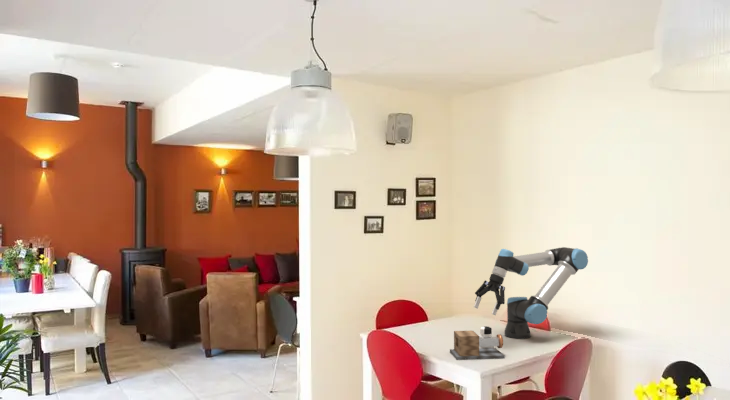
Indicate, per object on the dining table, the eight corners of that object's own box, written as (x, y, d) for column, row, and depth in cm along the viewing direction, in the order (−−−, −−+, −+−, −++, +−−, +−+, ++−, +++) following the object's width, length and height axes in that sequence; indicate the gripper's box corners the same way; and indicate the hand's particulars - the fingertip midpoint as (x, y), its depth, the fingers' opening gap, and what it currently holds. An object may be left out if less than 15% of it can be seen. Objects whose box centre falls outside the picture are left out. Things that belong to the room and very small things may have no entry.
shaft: (498, 346, 288) (498, 332, 288) (503, 349, 281) (503, 336, 281) (466, 347, 287) (466, 333, 287) (470, 350, 280) (470, 337, 280)
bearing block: (495, 350, 292) (495, 329, 292) (504, 358, 278) (504, 335, 278) (449, 352, 289) (449, 330, 289) (456, 359, 275) (456, 337, 275)
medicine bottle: (490, 347, 299) (490, 325, 299) (494, 350, 292) (494, 328, 292) (477, 347, 299) (477, 325, 299) (481, 351, 292) (481, 328, 292)
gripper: (477, 268, 313) (464, 303, 310) (511, 278, 293) (497, 315, 289) (485, 273, 317) (472, 307, 314) (519, 283, 297) (505, 319, 294)
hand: (484, 311), depth 302 cm, fingers open, 13 cm apart
